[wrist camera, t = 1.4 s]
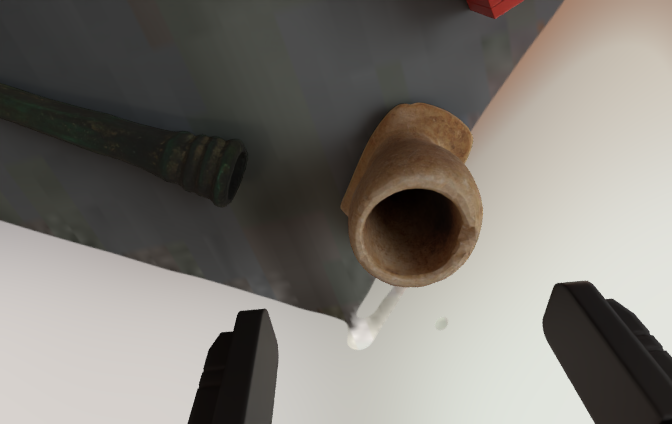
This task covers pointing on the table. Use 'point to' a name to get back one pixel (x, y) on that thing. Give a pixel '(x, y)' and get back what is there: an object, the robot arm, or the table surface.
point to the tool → (135, 143)
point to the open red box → (492, 6)
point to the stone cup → (414, 198)
